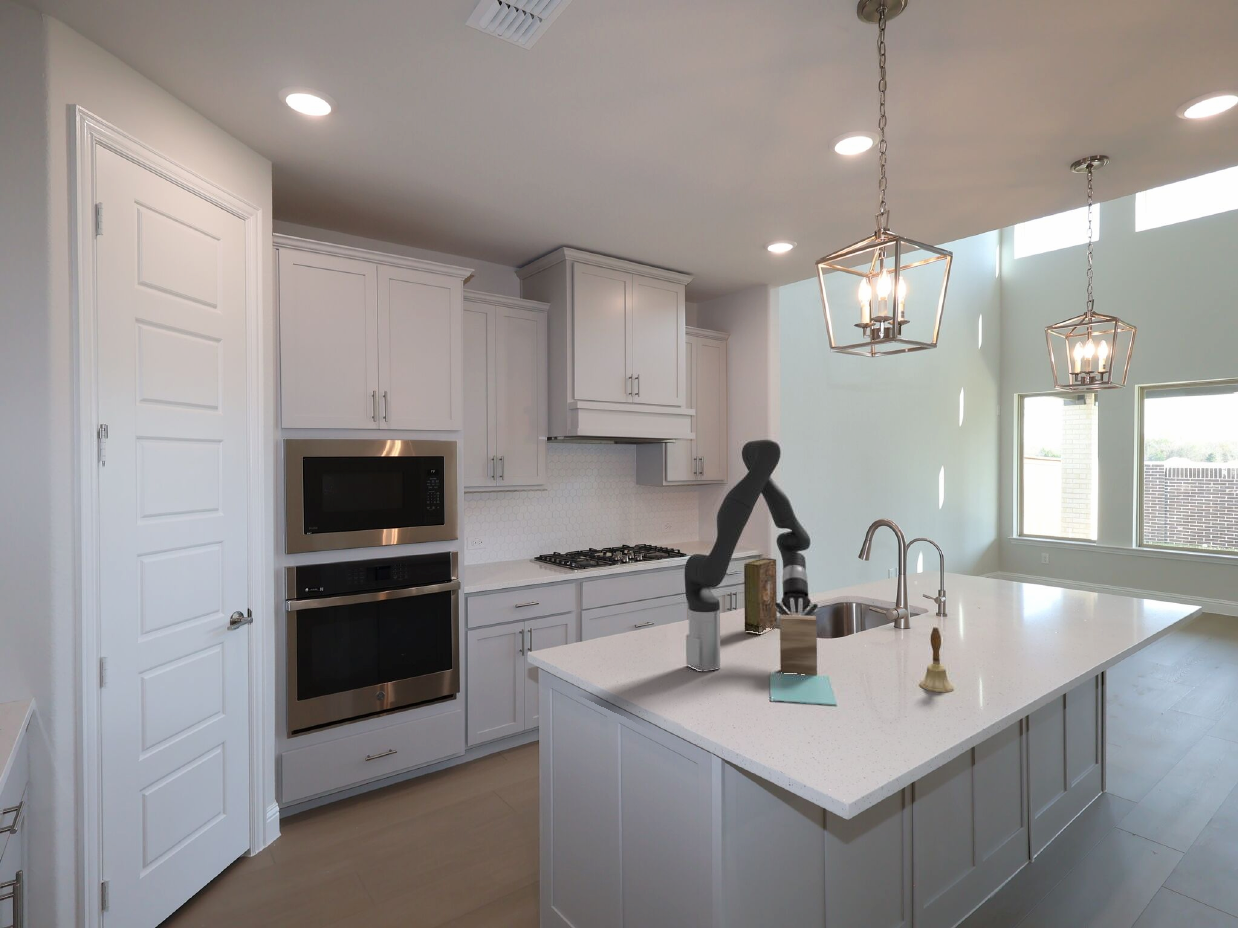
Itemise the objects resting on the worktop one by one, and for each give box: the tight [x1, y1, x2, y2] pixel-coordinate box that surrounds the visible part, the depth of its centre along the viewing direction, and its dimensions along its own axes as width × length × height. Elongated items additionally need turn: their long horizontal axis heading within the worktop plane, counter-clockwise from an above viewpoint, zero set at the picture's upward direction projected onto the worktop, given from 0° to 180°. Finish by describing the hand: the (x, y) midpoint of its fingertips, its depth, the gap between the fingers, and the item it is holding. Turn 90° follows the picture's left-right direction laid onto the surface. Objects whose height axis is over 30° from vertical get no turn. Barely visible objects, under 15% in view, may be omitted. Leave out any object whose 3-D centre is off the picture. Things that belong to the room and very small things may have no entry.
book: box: [743, 557, 778, 633], centre depth 237 cm, size 16×6×25 cm, turn 143°
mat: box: [769, 672, 838, 707], centre depth 174 cm, size 22×16×1 cm
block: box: [779, 614, 818, 675], centre depth 188 cm, size 4×10×16 cm, turn 77°
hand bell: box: [919, 626, 955, 693], centre depth 175 cm, size 8×8×16 cm
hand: (797, 632), depth 190 cm, fingers closed
